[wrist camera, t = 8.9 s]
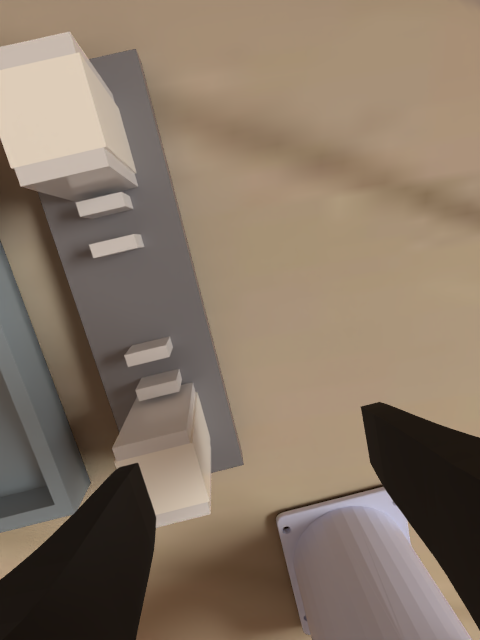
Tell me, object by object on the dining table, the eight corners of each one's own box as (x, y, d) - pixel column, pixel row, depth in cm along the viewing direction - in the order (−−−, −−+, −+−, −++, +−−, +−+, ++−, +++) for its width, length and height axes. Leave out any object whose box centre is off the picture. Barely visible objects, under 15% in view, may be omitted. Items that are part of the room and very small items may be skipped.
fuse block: (242, 452, 22) (246, 483, 19) (143, 477, 22) (133, 511, 19) (140, 61, 17) (127, 28, 14) (13, 90, 17) (-24, 62, 14)
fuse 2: (213, 447, 20) (213, 513, 15) (156, 461, 20) (138, 532, 15) (194, 381, 19) (188, 429, 15) (135, 396, 19) (109, 448, 14)
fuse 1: (140, 186, 17) (111, 165, 12) (73, 202, 17) (17, 187, 12) (114, 93, 16) (72, 30, 11) (43, 109, 16) (-29, 53, 11)
